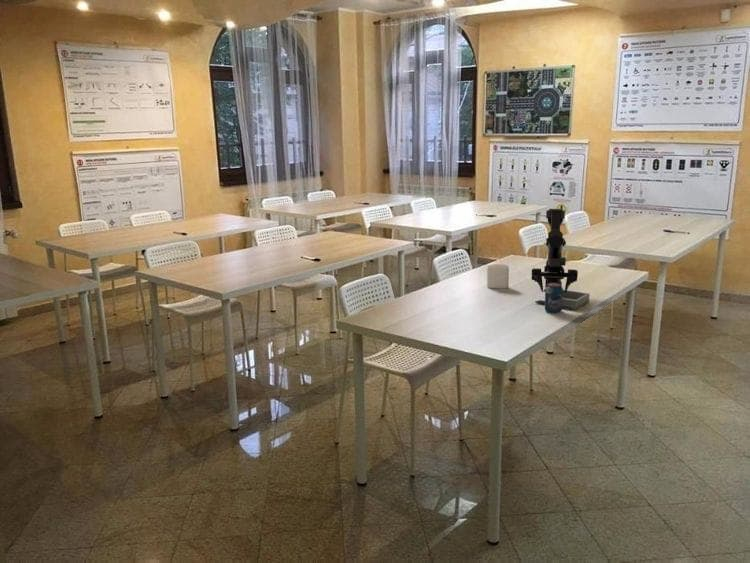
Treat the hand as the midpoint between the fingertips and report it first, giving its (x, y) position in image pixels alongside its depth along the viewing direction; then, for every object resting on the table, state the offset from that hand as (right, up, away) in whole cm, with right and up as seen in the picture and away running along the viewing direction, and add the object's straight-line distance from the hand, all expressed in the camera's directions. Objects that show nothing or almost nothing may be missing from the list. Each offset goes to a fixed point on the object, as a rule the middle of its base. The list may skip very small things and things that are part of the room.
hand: (553, 292), depth 265 cm
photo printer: (-15, +1, +41) cm, 44 cm away
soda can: (0, -8, +2) cm, 9 cm away
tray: (+9, -5, +12) cm, 16 cm away
